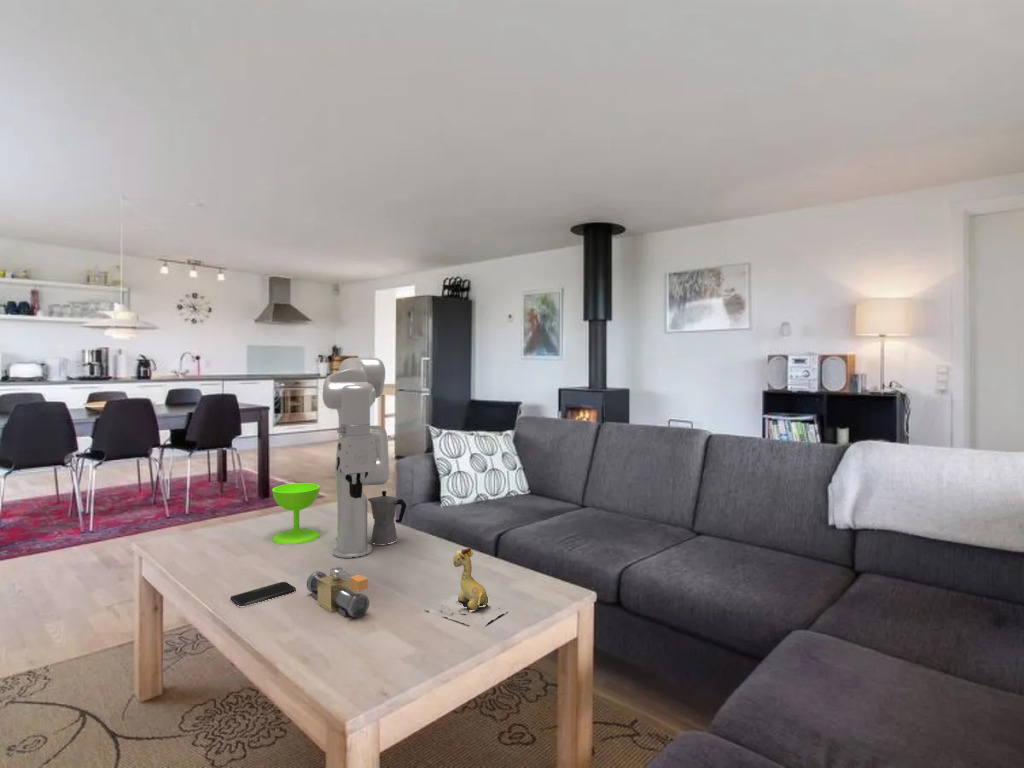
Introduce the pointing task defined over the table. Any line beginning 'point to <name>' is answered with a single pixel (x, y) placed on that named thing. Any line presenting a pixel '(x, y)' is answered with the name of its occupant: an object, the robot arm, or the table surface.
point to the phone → (263, 594)
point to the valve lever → (350, 578)
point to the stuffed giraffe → (469, 582)
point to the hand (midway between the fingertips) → (355, 496)
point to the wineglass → (296, 510)
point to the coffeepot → (385, 518)
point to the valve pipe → (337, 595)
